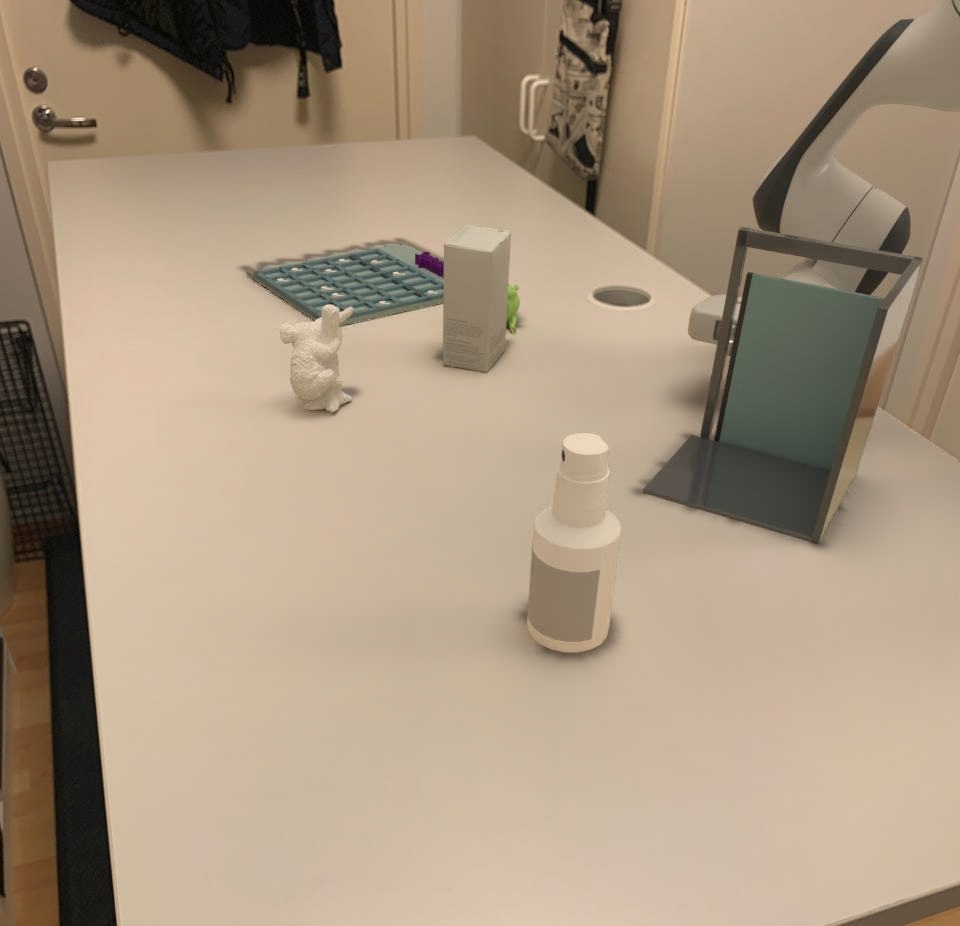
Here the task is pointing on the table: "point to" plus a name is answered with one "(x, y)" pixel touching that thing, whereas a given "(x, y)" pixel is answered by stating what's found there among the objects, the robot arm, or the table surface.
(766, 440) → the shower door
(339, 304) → the calendar
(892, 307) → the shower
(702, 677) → the table surface
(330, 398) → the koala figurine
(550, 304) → the table surface
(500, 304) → the cosmetic box
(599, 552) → the spray bottle
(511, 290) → the green animal figurine
